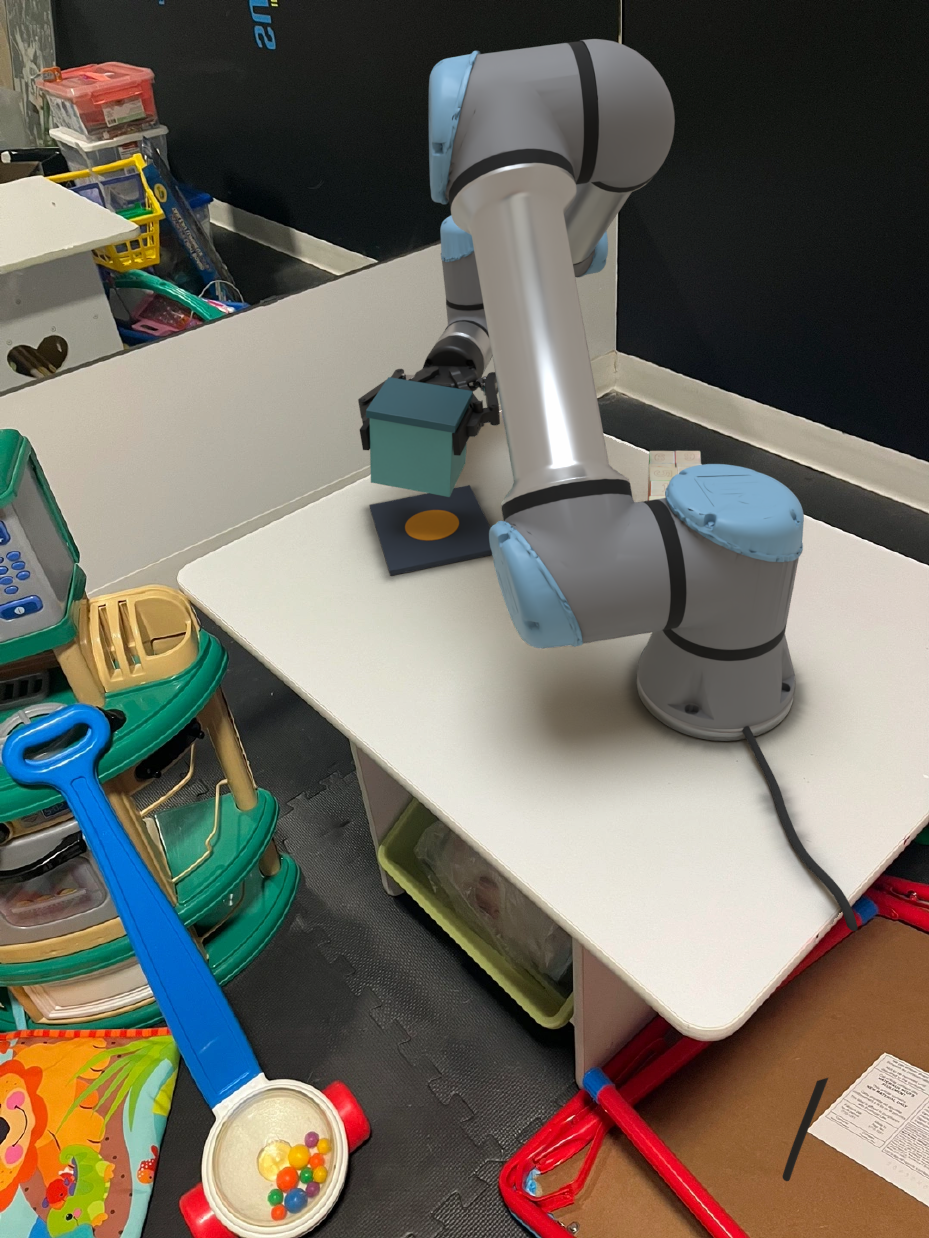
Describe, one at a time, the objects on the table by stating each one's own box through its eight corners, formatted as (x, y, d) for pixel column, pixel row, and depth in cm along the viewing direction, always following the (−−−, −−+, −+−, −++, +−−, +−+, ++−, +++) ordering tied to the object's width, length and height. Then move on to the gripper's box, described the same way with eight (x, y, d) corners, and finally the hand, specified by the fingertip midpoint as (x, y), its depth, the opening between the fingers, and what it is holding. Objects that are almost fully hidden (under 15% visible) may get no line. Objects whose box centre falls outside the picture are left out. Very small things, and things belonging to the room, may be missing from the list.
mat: (501, 553, 113) (500, 547, 113) (390, 576, 112) (389, 570, 111) (470, 489, 126) (469, 484, 125) (370, 509, 124) (369, 504, 123)
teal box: (388, 448, 118) (388, 376, 111) (468, 462, 116) (473, 391, 110) (367, 483, 111) (365, 410, 105) (451, 499, 110) (455, 425, 103)
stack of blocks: (646, 513, 117) (650, 427, 110) (696, 515, 116) (704, 427, 109) (642, 619, 101) (646, 526, 94) (700, 621, 100) (710, 527, 92)
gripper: (543, 391, 122) (508, 476, 106) (380, 385, 128) (323, 465, 111) (541, 336, 117) (504, 417, 101) (372, 333, 123) (311, 408, 107)
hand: (409, 442), depth 106 cm, fingers closed on teal box, 10 cm apart
